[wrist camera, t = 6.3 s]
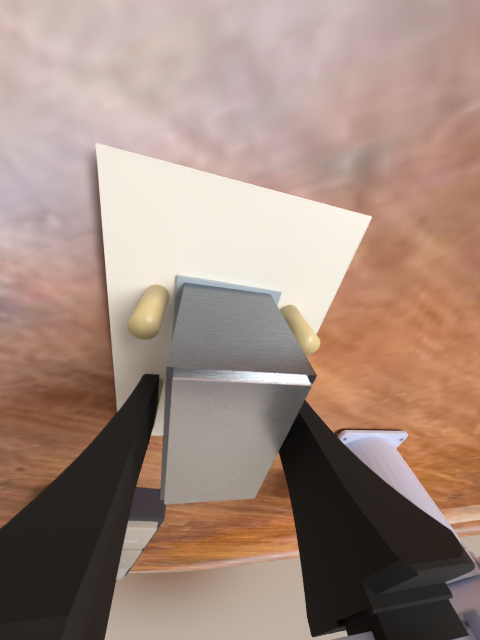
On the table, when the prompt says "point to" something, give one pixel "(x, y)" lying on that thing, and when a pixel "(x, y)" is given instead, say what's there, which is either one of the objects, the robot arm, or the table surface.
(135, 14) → the table surface
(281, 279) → the cream pegged board
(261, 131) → the table surface
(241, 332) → the block
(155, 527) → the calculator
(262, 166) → the table surface
